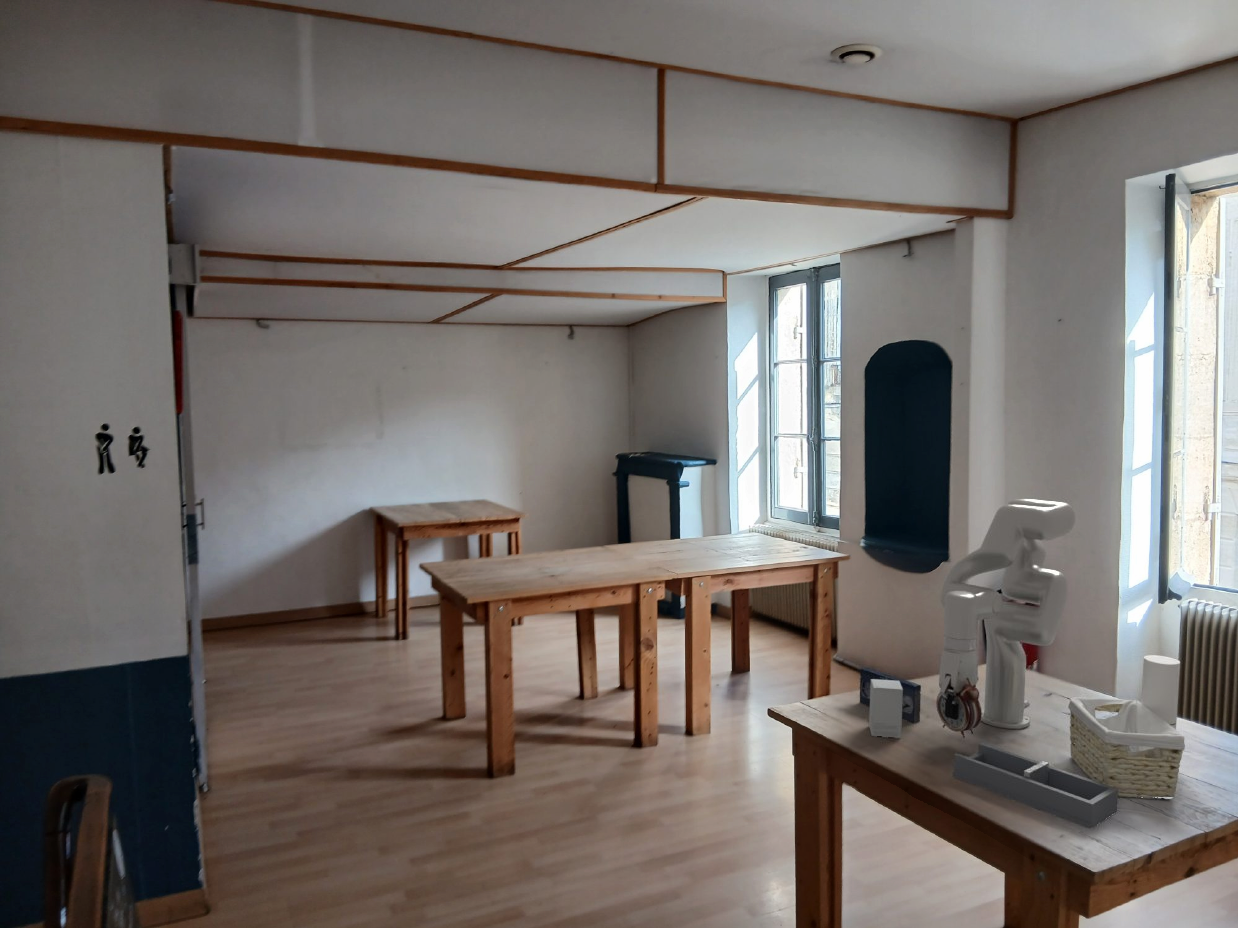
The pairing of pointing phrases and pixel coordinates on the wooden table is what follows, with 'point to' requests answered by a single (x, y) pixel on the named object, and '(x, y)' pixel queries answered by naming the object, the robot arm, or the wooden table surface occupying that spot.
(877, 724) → the supplement box
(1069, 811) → the tray
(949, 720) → the alarm clock
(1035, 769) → the pusher plate
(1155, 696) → the cylindrical container
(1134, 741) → the storage basket
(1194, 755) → the wooden table surface
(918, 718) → the vhs cassette tape
